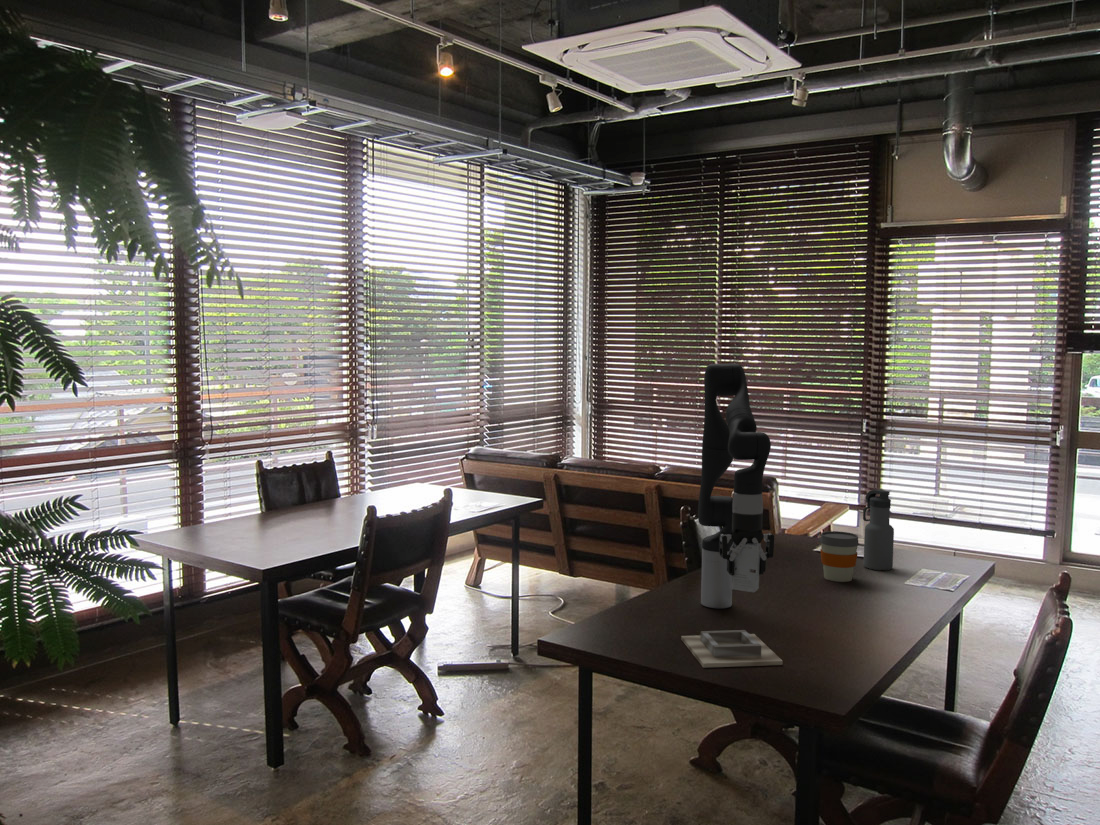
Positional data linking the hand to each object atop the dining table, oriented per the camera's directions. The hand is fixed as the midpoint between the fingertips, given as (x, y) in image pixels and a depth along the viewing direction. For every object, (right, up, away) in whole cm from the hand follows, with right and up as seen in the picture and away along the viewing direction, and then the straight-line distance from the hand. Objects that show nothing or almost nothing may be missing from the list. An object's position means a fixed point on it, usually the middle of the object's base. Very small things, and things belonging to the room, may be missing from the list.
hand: (745, 574), depth 214 cm
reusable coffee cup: (+49, -16, +73) cm, 89 cm away
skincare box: (0, -4, 0) cm, 4 cm away
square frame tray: (-4, -20, +1) cm, 20 cm away
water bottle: (+68, -15, +88) cm, 112 cm away
